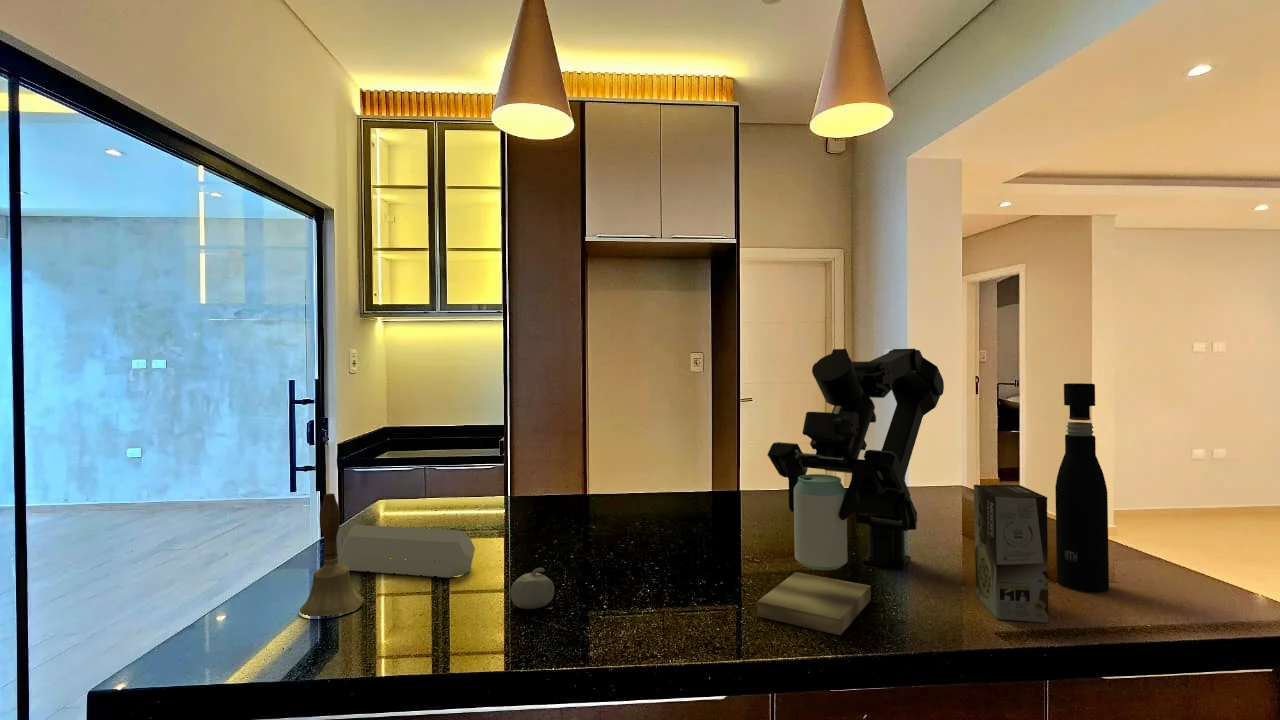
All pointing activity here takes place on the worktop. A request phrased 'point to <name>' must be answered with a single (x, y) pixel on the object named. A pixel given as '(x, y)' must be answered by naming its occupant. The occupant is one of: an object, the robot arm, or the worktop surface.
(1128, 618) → the worktop surface
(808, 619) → the beige wooden slab
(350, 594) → the hand bell
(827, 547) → the can
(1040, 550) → the coffee box
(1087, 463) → the black bottle
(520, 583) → the grey pumpkin
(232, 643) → the worktop surface
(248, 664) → the worktop surface
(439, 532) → the crystal
